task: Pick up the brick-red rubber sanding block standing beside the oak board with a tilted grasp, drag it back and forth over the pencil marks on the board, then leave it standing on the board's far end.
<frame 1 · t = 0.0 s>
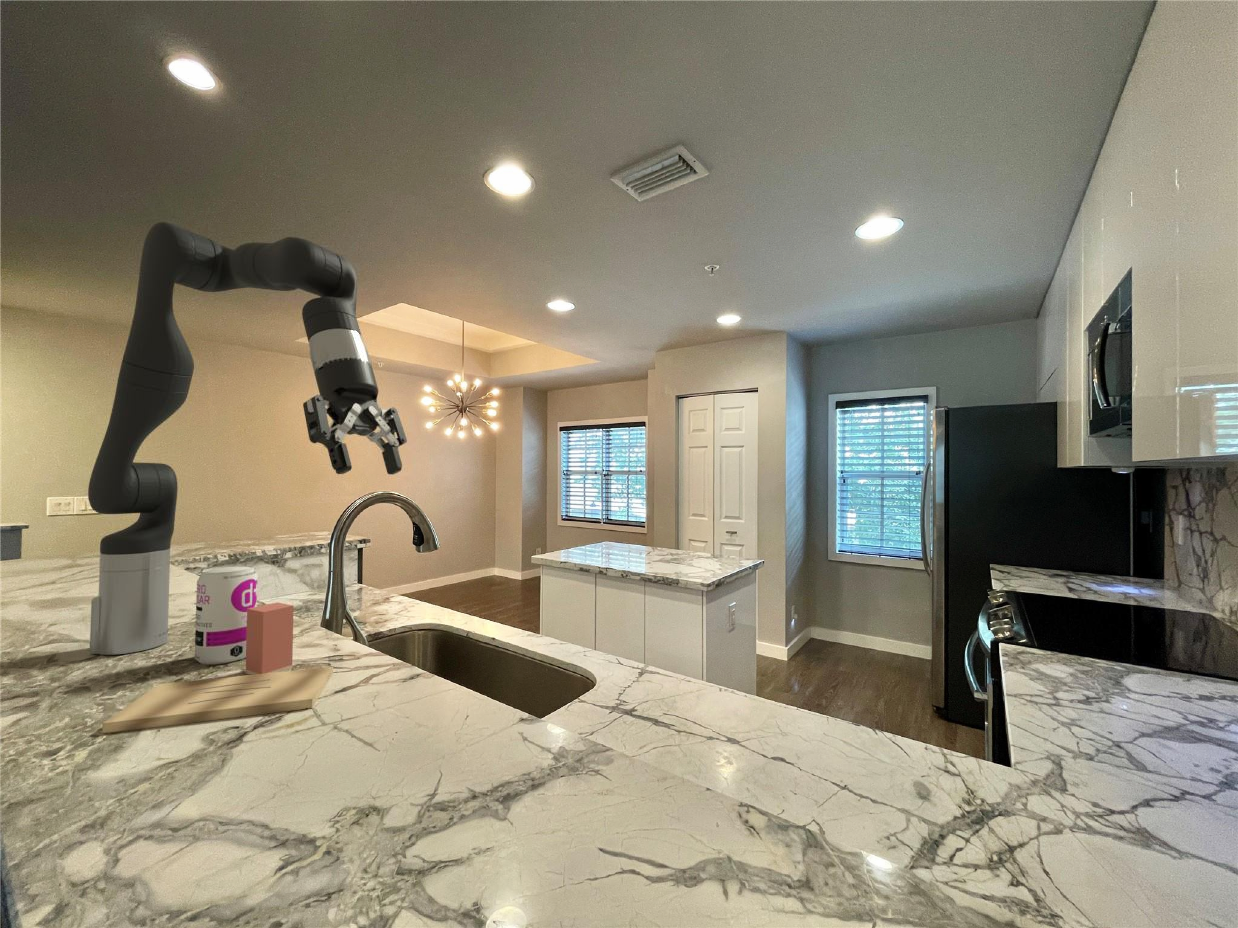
hand: (371, 472, 70), 31 cm above the counter, tool tilted 20°, fingers open, 8 cm apart
oak board: (232, 699, 69), on the counter
sanding block: (269, 670, 80), on the counter
supplement can: (226, 658, 86), on the counter
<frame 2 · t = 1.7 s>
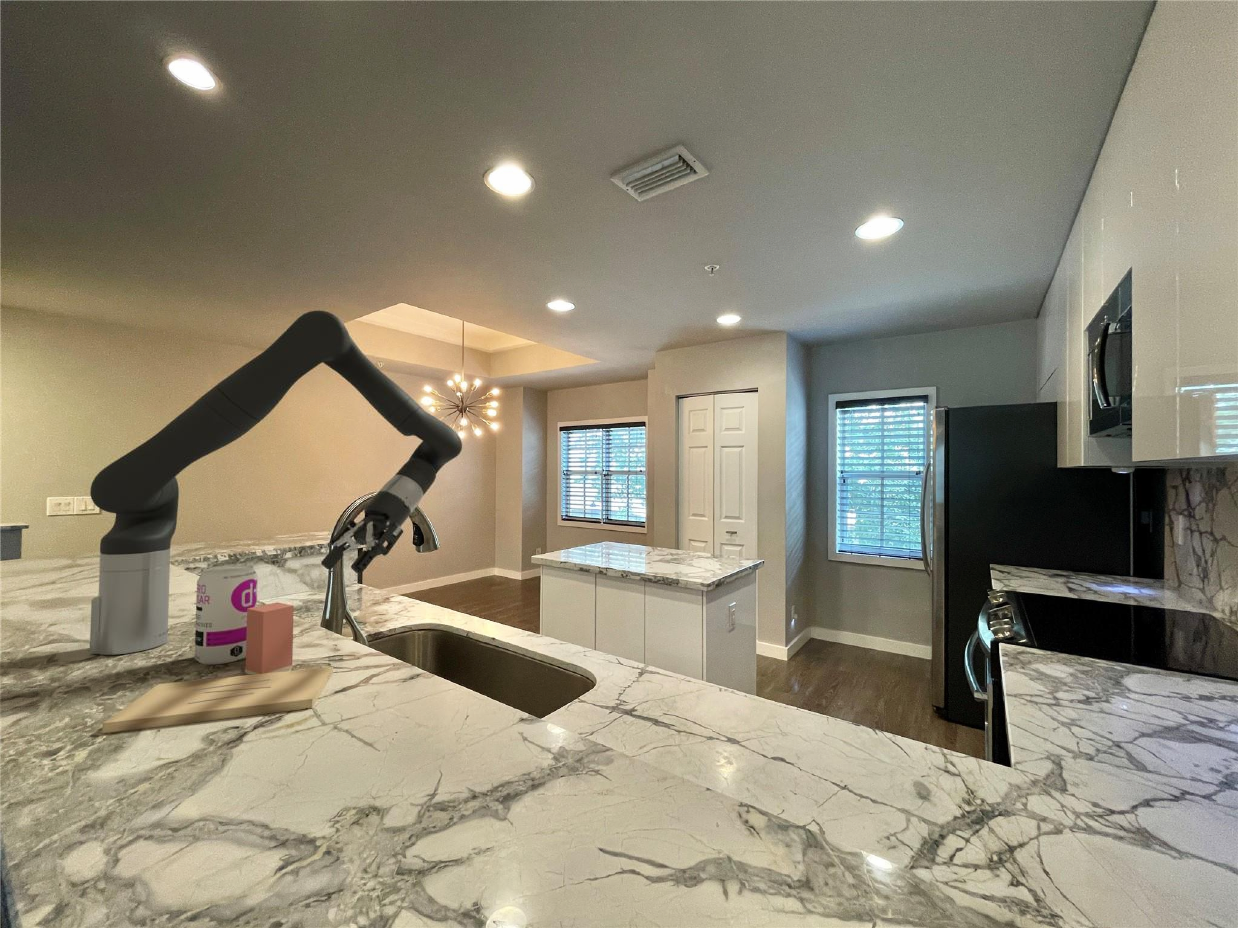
hand: (339, 568, 91), 14 cm above the counter, tool tilted 45°, fingers open, 8 cm apart
nothing on the counter moved.
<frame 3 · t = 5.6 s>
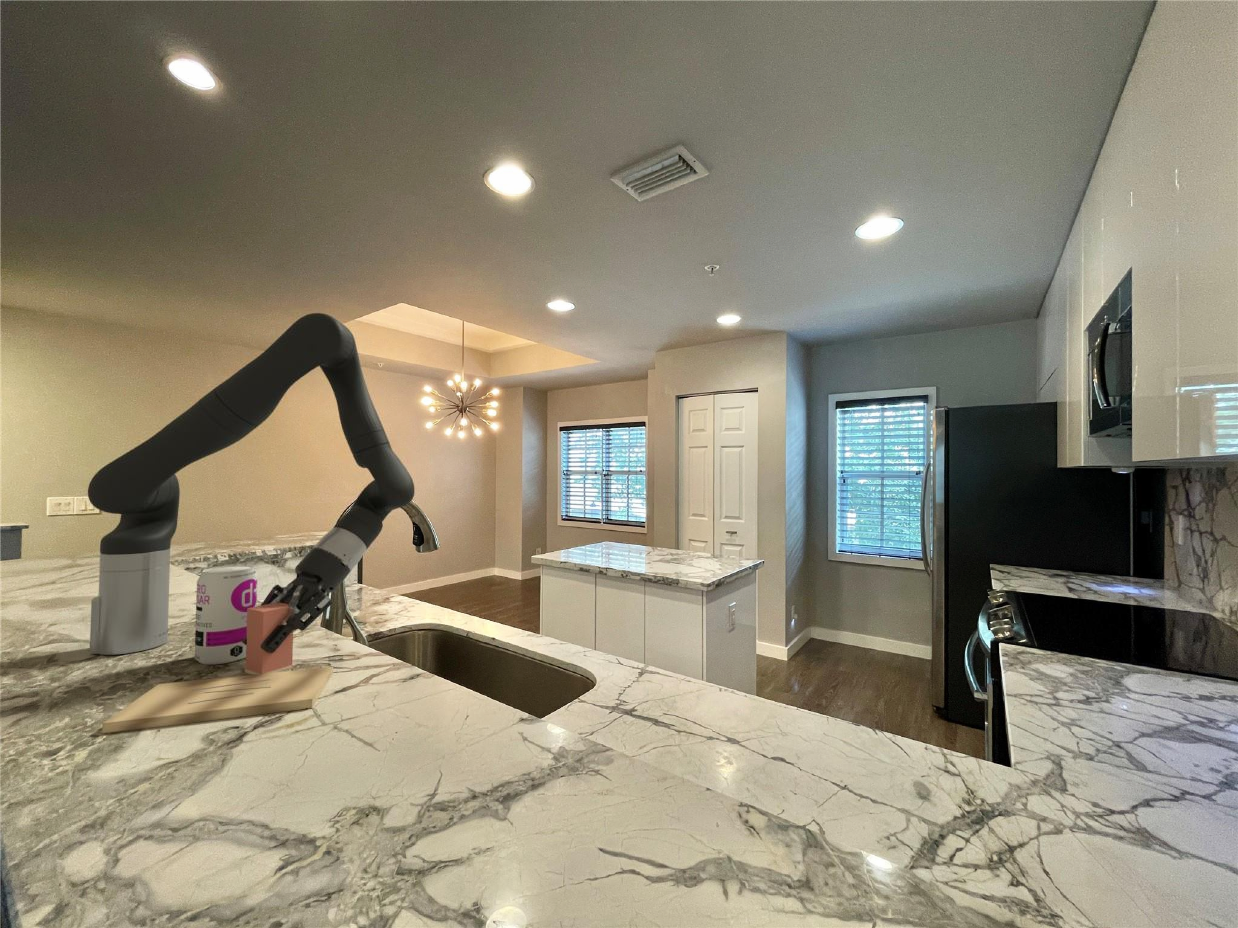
hand: (256, 647, 78), 4 cm above the counter, tool tilted 45°, fingers closed on sanding block, 4 cm apart
sanding block: (269, 670, 80), on the counter, touching gripper
everything else where it was.
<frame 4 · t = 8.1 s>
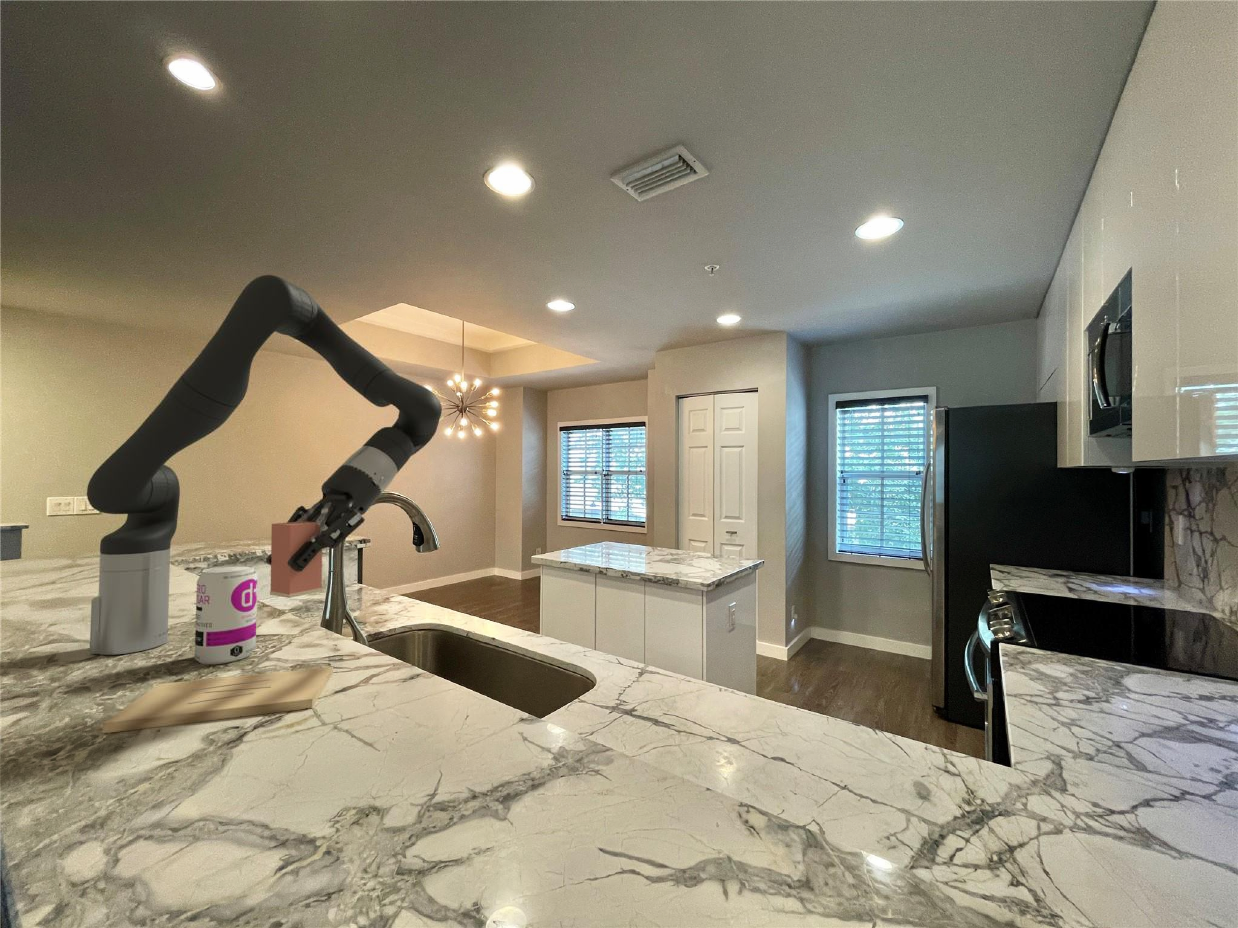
hand: (282, 566, 70), 18 cm above the counter, tool tilted 45°, fingers closed on sanding block, 4 cm apart
sanding block: (296, 592, 72), point 14 cm above the counter, touching gripper
everything else where it was.
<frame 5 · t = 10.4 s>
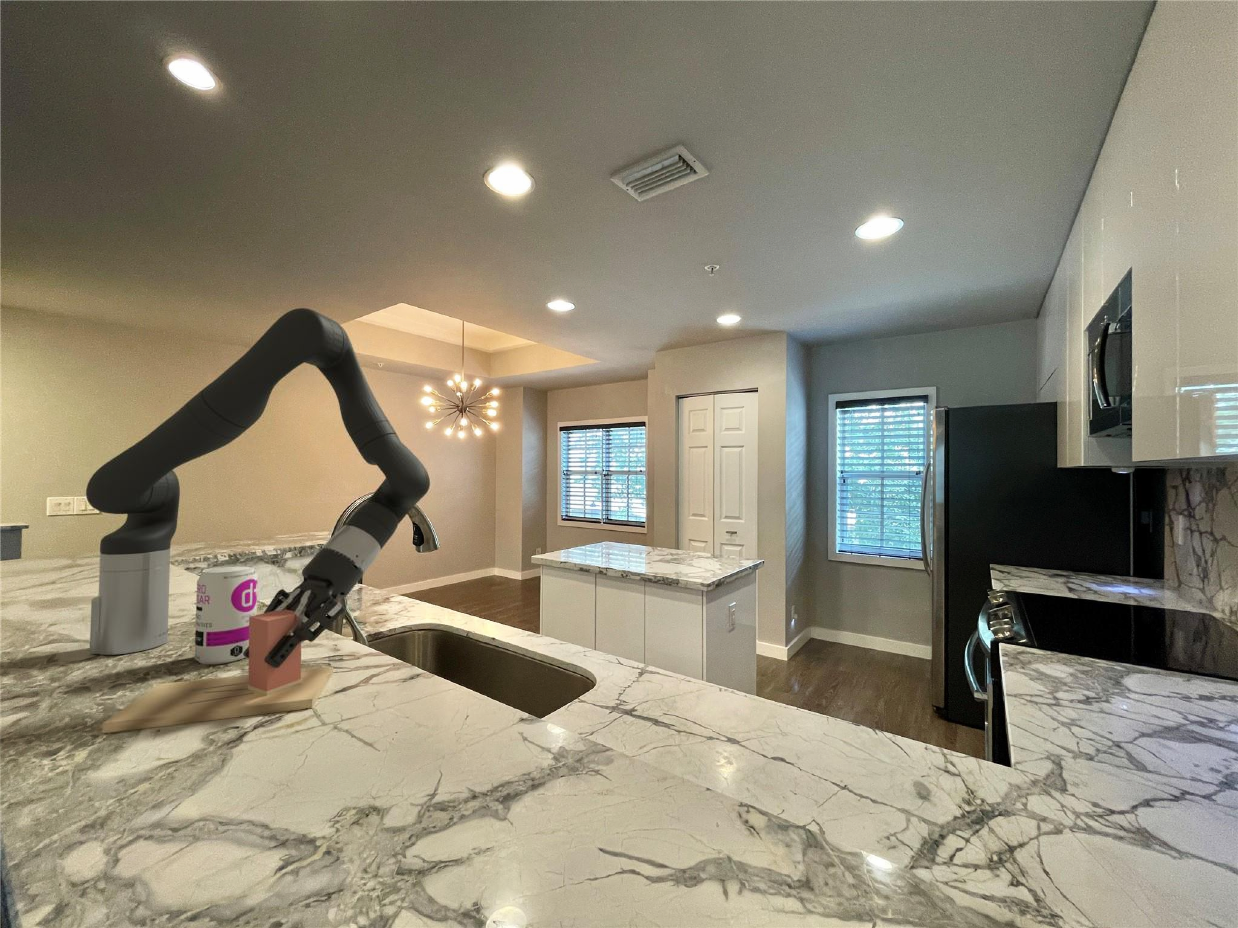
hand: (260, 661, 69), 5 cm above the counter, tool tilted 45°, fingers closed on sanding block, 4 cm apart
sanding block: (274, 685, 71), point 1 cm above the counter, touching gripper
everything else where it was.
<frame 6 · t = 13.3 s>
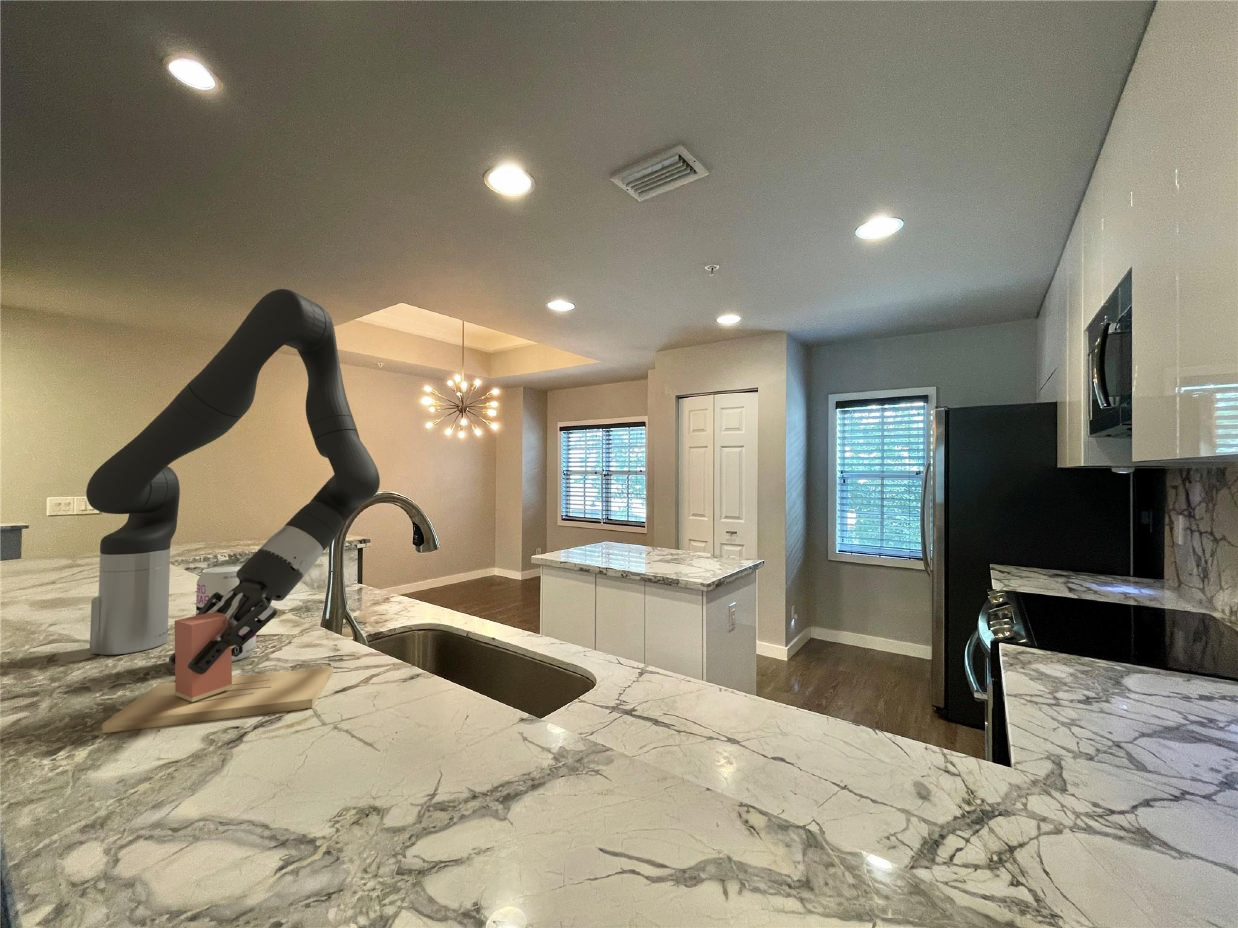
hand: (185, 667, 66), 5 cm above the counter, tool tilted 45°, fingers closed on sanding block, 4 cm apart
sanding block: (204, 691, 68), point 2 cm above the counter, touching gripper
everything else where it was.
when the fingers open (6 cm above the counter, at t = 15.6 s): sanding block drops 1 cm, resting on oak board.
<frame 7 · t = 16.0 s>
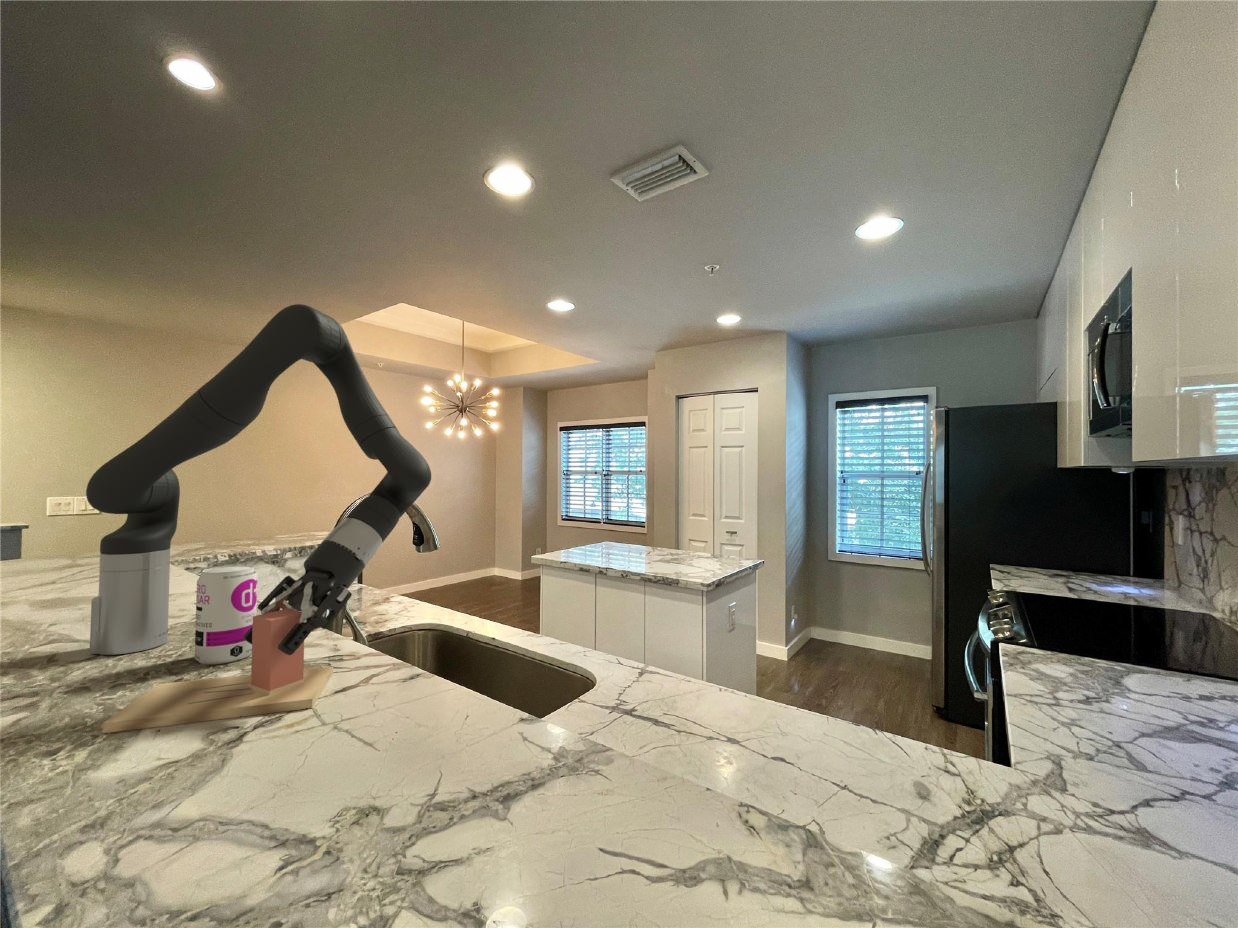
hand: (265, 646, 70), 7 cm above the counter, tool tilted 45°, fingers open, 8 cm apart
sanding block: (277, 685, 71), point 1 cm above the counter, touching oak board
everything else where it was.
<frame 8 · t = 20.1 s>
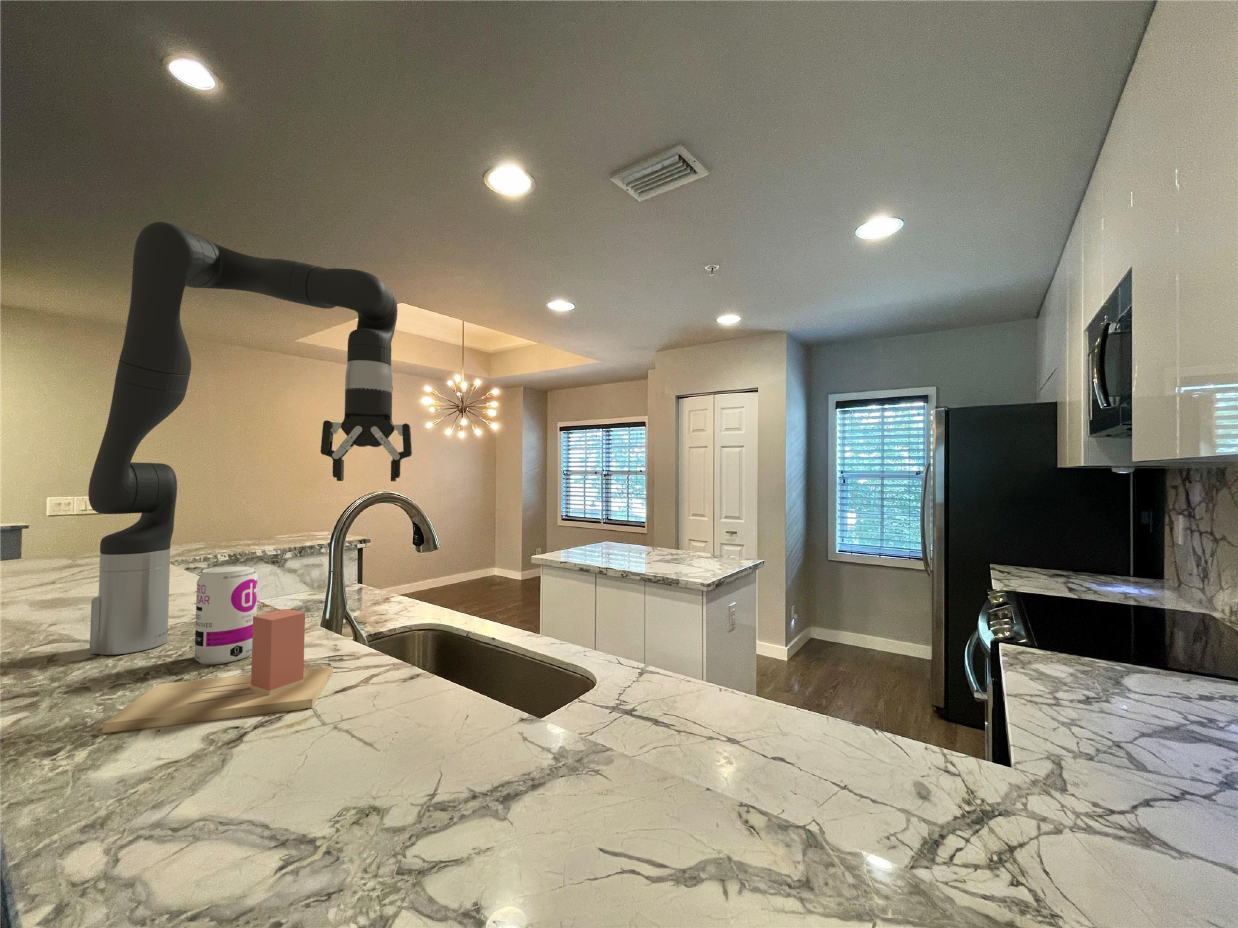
hand: (367, 481, 89), 30 cm above the counter, tool pointing down, fingers open, 8 cm apart
nothing on the counter moved.
at the end: sanding block inside the target area on the oak board (0.5 cm from its centre), point 1.2 cm above the oak board's base; sanding block tilted 0°; sanding block moved 11.6 cm from its start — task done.
